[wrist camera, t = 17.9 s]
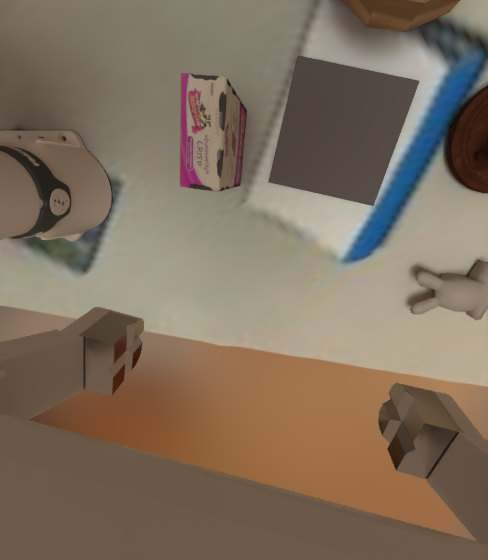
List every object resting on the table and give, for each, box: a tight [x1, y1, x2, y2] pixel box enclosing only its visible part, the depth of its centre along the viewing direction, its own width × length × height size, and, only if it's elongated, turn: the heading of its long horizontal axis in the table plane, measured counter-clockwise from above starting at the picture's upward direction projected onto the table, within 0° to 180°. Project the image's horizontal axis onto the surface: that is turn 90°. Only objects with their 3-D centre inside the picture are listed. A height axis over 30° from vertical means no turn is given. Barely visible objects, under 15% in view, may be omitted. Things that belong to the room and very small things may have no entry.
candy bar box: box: [180, 73, 247, 192], centre depth 37 cm, size 11×5×16 cm, turn 175°
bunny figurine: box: [410, 261, 488, 320], centre depth 46 cm, size 10×5×15 cm
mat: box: [269, 56, 419, 206], centre depth 42 cm, size 17×17×1 cm
